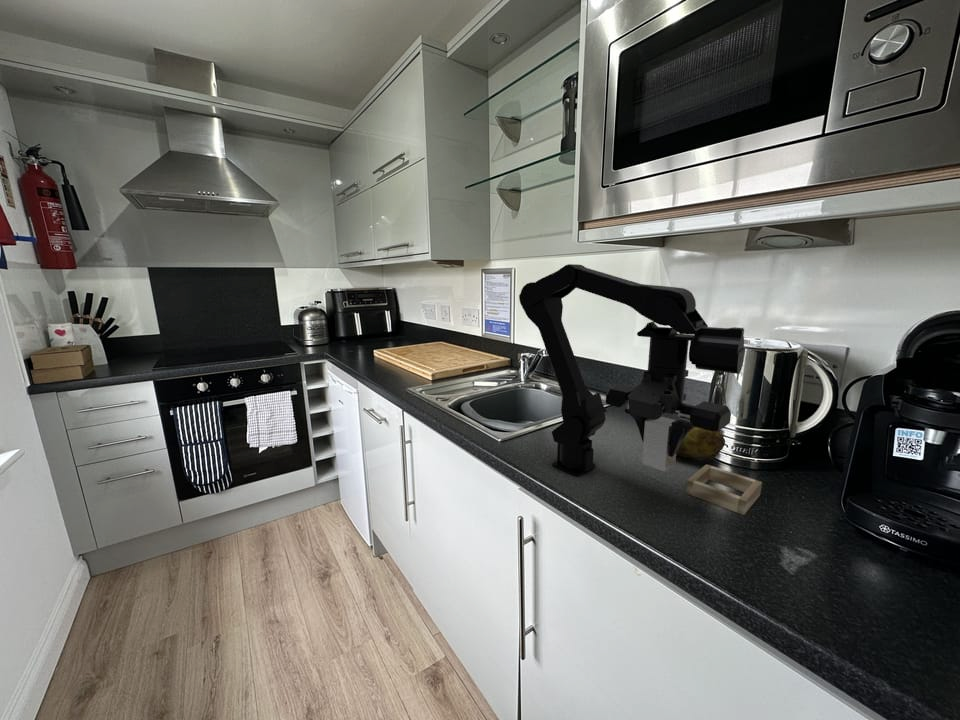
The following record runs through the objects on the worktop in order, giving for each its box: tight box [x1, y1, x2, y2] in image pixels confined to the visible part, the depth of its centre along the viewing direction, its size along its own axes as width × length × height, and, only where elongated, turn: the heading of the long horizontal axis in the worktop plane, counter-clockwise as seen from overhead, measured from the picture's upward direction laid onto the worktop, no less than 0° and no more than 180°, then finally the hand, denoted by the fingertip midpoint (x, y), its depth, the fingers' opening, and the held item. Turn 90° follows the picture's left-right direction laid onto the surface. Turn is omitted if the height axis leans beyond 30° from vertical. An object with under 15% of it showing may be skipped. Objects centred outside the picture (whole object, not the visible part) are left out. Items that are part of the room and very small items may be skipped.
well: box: [685, 464, 763, 516], centre depth 68 cm, size 9×9×2 cm
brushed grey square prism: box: [641, 416, 677, 473], centre depth 67 cm, size 4×4×8 cm
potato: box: [676, 427, 726, 459], centre depth 82 cm, size 8×13×8 cm, turn 26°
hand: (659, 452), depth 67 cm, fingers closed on brushed grey square prism, 4 cm apart
